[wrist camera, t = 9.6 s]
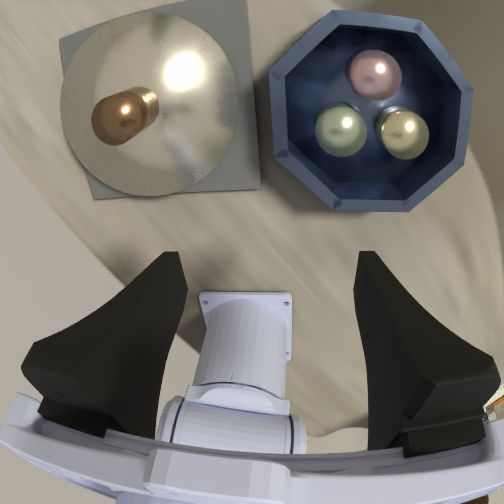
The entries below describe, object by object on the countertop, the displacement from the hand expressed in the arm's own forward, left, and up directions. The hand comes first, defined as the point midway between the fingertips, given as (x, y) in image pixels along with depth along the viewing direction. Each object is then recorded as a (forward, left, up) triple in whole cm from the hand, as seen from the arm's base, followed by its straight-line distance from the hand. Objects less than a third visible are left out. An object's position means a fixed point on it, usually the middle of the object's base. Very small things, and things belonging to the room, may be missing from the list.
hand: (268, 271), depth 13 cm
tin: (+5, -6, -10) cm, 13 cm away
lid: (+6, +8, -9) cm, 14 cm away
